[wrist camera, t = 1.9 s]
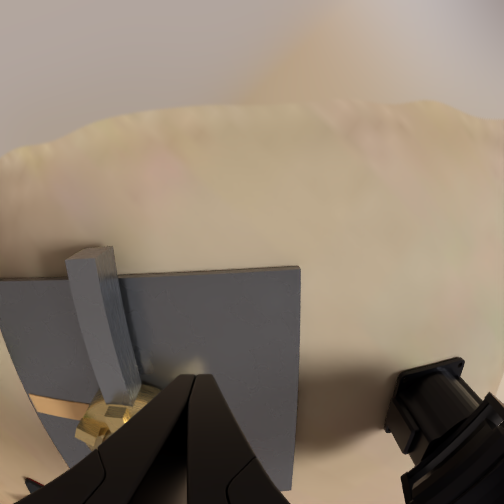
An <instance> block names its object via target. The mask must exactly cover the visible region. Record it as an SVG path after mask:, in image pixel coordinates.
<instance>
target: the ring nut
mask: <svg viewBox="0 0 504 504" xmlns="http://www.w3.org/2000/svg"><path fill="white" fill-rule="evenodd" d="M65 263H66V269H67V274H68V278H69V283H70V288H71V292H72V297H73V301H74V305H75V309H76V313H77V317H78V321H79V324H80V328H81V332H82V335H83V339H84V342H85V345H86V349H87V352H88V355H89V358H90V361H91V364H92V367H93V370H94V373H95V376H96V379H97V382H98V384H99V387H100V390H99V391H97V393H96V394H95V396H94V398H93V399H92V401H91V403H90V405H89V407H88V409H87V410H86V412H85V414H84V416H83V418H81V420H80V422H79V424H78V426H77V428H76V433H75V437H76V438H77V439H79V440H81V441H83V442H85V443H86V445H87V446H88V447H89V449H90V450H91V451H93V450H94V449H97V447H98V446H99V445H100V444H101V443H103V442H104V441H105V440H106V439H107V438H109V437H110V436H111V435H112V434H113V433H114V432H115V431H117V430H118V429H119V428H120V427H121V426H122V425H124V424H125V423H126V422H127V421H128V420H129V419H130V418H132V417H133V416H134V415H135V414H136V413H137V412H138V411H139V410H141V409H142V408H143V407H144V406H145V405H146V404H147V403H148V402H150V401H151V400H152V399H153V398H154V397H155V396H156V395H157V394H158V393H160V392H161V391H162V390H160V389H158V388H155V387H152V386H149V385H146V384H142V381H141V378H140V374H139V371H138V367H137V363H136V359H135V356H134V352H133V348H132V344H131V339H130V335H129V331H128V326H127V322H126V317H125V313H124V308H123V303H122V298H121V292H120V287H119V281H118V276H117V270H116V263H115V257H114V250H113V246H107V247H93V248H84V249H83V250H81V251H79V252H77V253H76V254H74V255H72V256H71V257H69V258H67V259H65ZM97 450H98V449H97Z"/></svg>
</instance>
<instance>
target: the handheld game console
mask: <svg viewBox="0 0 504 504" xmlns="http://www.w3.org/2000/svg"><path fill="white" fill-rule="evenodd" d="M25 484H26V486H27V488H28V490H29V491H30V493H33V492H35V491H36V490H38V489H40V488H41V487H43V486H44V485H42V484H40V483H38V482H36V481H34V480H32V479H29V478H27V479H26V480H25Z"/></svg>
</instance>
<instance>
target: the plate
mask: <svg viewBox="0 0 504 504" xmlns="http://www.w3.org/2000/svg"><path fill="white" fill-rule="evenodd" d="M117 276H118V281H119V287H120V292H121V298H122V303H123V308H124V313H125V317H126V322H127V326H128V331H129V335H130V339H131V344H132V348H133V352H134V356H135V359H136V363H137V367H138V371H139V374H140V378H141V381H142V384H146V385H149V386H152V387H155V388H158V389H160V390H163V389H164V388H165V387H166V386H167V385H168V384H170V383H171V382H172V381H173V380H174V379H175V378H176V377H177V376H178V375H180V374H194V375H197V374H212V375H213V376H214V378H215V380H216V382H217V384H218V386H219V388H220V390H221V392H222V394H223V396H224V398H225V400H226V402H227V404H228V405H229V407H230V409H231V411H232V413H233V415H234V417H235V419H236V421H237V422H238V424H239V426H240V428H241V430H242V432H243V433H244V435H245V437H246V439H247V441H248V442H249V444H250V446H251V448H252V449H253V451H254V453H255V455H256V457H257V458H258V459H259V461H260V463H261V464H262V466H263V468H264V470H265V471H266V473H267V474H268V476H269V477H270V479H271V480H272V481H273V483H274V484H275V486H276V487H277V488H278V490H279V491H289V490H291V486H292V475H293V462H294V449H295V434H296V417H297V398H298V376H299V347H300V293H301V269H300V267H299V266H289V267H272V268H255V269H237V270H218V271H199V272H178V273H156V274H133V275H117ZM0 329H1V332H2V335H3V338H4V340H5V343H6V346H7V348H8V351H9V354H10V356H11V359H12V361H13V364H14V366H15V368H16V371H17V373H18V375H19V378H20V380H21V382H22V384H23V386H24V389H25V391H26V393H27V395H28V397H29V399H30V401H31V403H32V405H33V407H34V409H35V411H36V413H37V415H38V416H39V418H40V420H41V422H42V424H43V426H44V427H45V429H46V431H47V433H48V434H49V436H50V438H51V439H52V441H53V443H54V444H55V446H56V448H57V449H58V451H59V452H60V454H61V455H62V457H63V459H64V460H65V462H66V463H67V465H68V466H69V467H70V469H71V468H72V467H73V466H74V465H76V464H77V463H78V462H80V461H81V460H82V459H83V458H85V457H86V456H87V455H88V454H89V453H91V452H92V451H91V450H90V449H89V447H88V446H87V445H86V443H85V442H83V441H81V440H79V439H77V438H76V437H75V433H76V428H77V426H78V424H79V422H80V420H74V419H69V418H64V417H59V416H54V415H49V414H45V413H40V412H37V410H36V408H35V406H34V404H33V402H32V400H31V398H30V396H29V394H33V395H38V396H43V397H48V398H53V399H59V400H65V401H71V402H77V403H84V404H90V403H91V401H92V399H93V398H94V396H95V394H96V393H97V391H99V390H100V387H99V384H98V382H97V379H96V376H95V373H94V370H93V367H92V364H91V361H90V358H89V355H88V352H87V349H86V345H85V342H84V339H83V335H82V332H81V328H80V324H79V321H78V317H77V313H76V309H75V305H74V301H73V297H72V292H71V288H70V283H69V278H68V277H47V278H7V279H0Z"/></svg>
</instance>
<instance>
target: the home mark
mask: <svg viewBox="0 0 504 504" xmlns="http://www.w3.org/2000/svg"><path fill="white" fill-rule="evenodd" d="M29 396H30V398H31V400H32V402H33V404H34V406H35V408H36V410H37V412H40V413H45V414H49V415H54V416H59V417H64V418H69V419H74V420H81V418H83V416H84V414H85V412H86V410H87V409H88V407H89V405H90V404H84V403H77V402H71V401H65V400H59V399H53V398H48V397H43V396H38V395H33V394H29Z"/></svg>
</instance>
